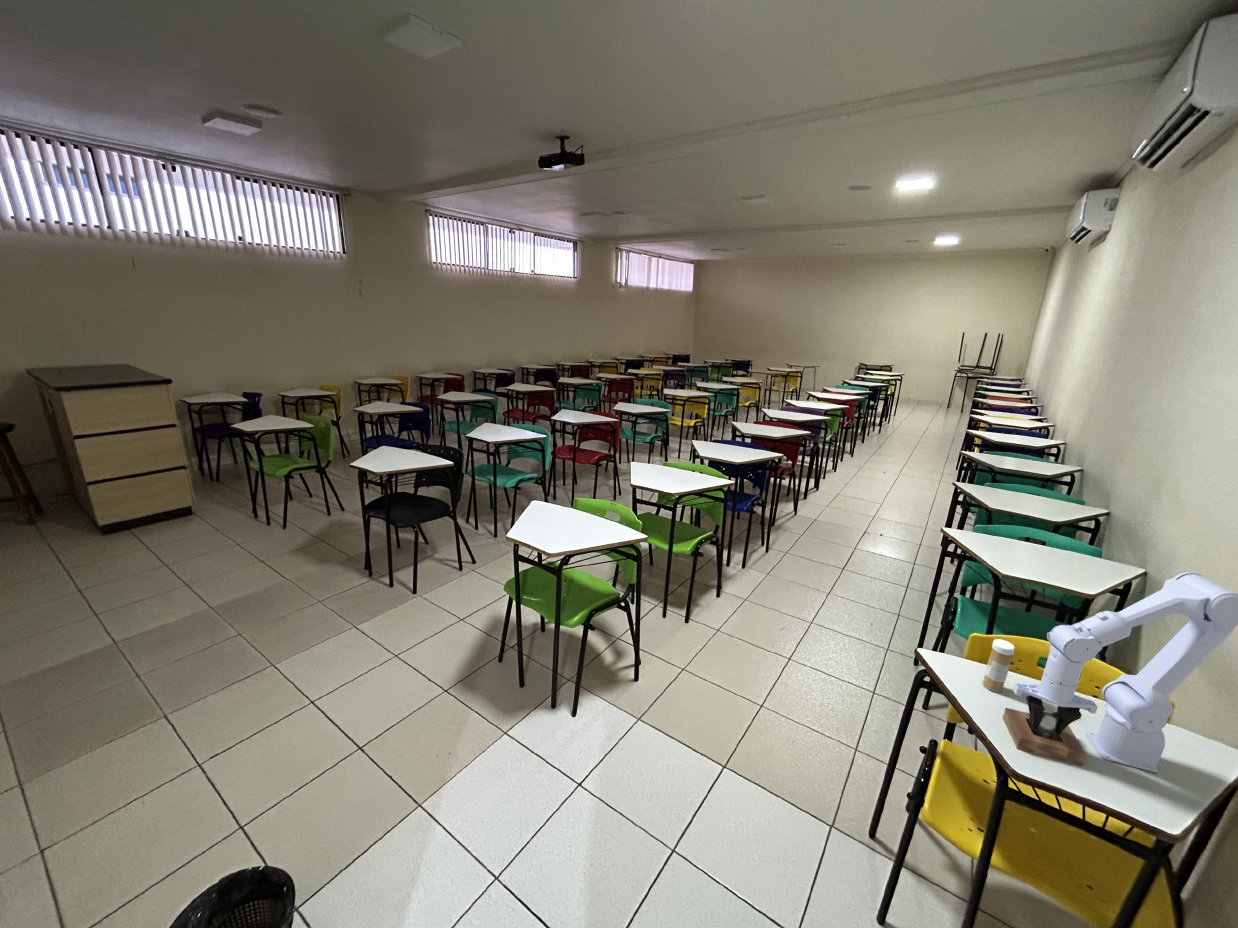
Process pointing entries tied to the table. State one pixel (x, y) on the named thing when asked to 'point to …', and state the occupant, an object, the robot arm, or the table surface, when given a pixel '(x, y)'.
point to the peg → (1047, 724)
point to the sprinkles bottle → (998, 665)
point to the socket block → (1043, 739)
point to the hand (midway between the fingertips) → (1044, 727)
